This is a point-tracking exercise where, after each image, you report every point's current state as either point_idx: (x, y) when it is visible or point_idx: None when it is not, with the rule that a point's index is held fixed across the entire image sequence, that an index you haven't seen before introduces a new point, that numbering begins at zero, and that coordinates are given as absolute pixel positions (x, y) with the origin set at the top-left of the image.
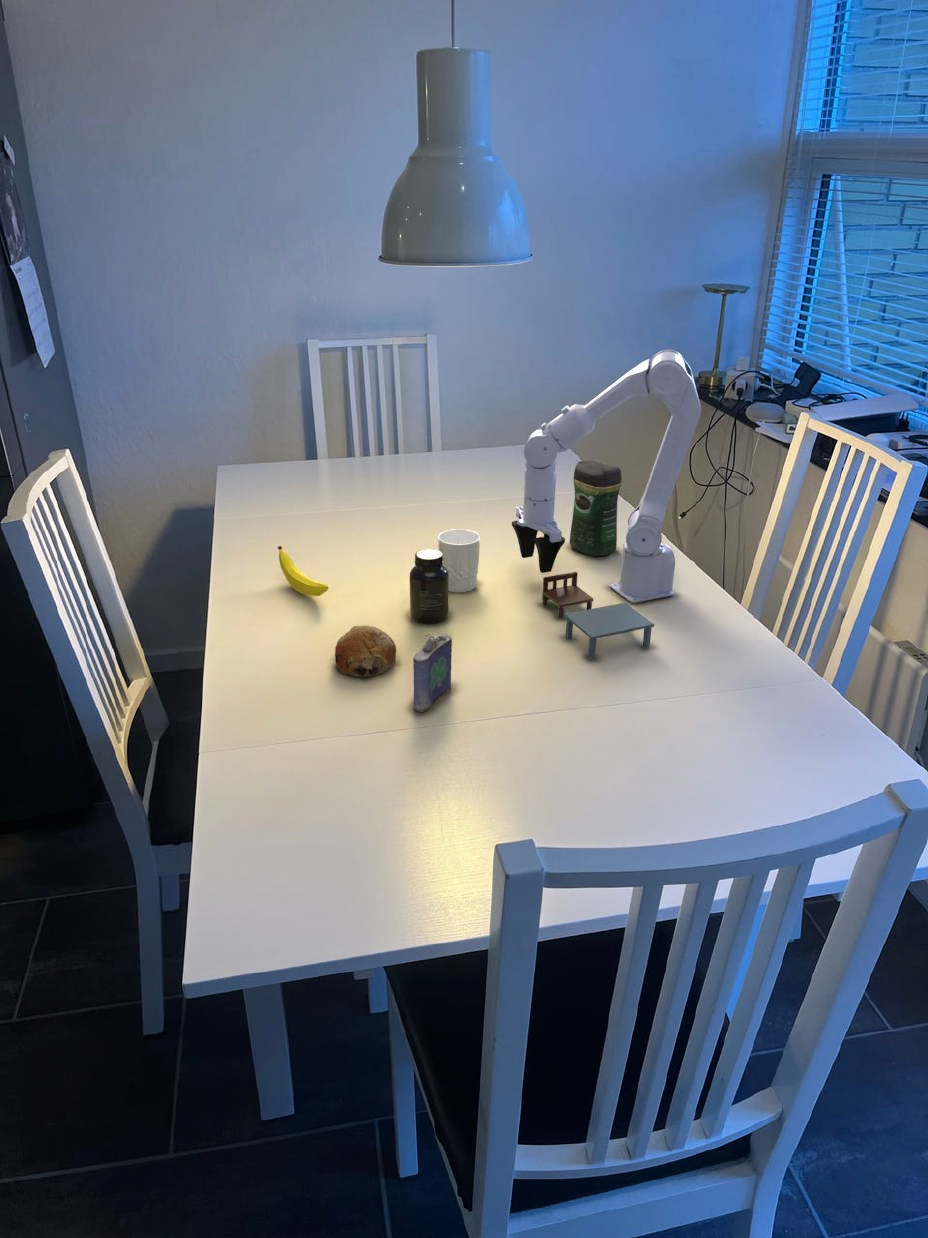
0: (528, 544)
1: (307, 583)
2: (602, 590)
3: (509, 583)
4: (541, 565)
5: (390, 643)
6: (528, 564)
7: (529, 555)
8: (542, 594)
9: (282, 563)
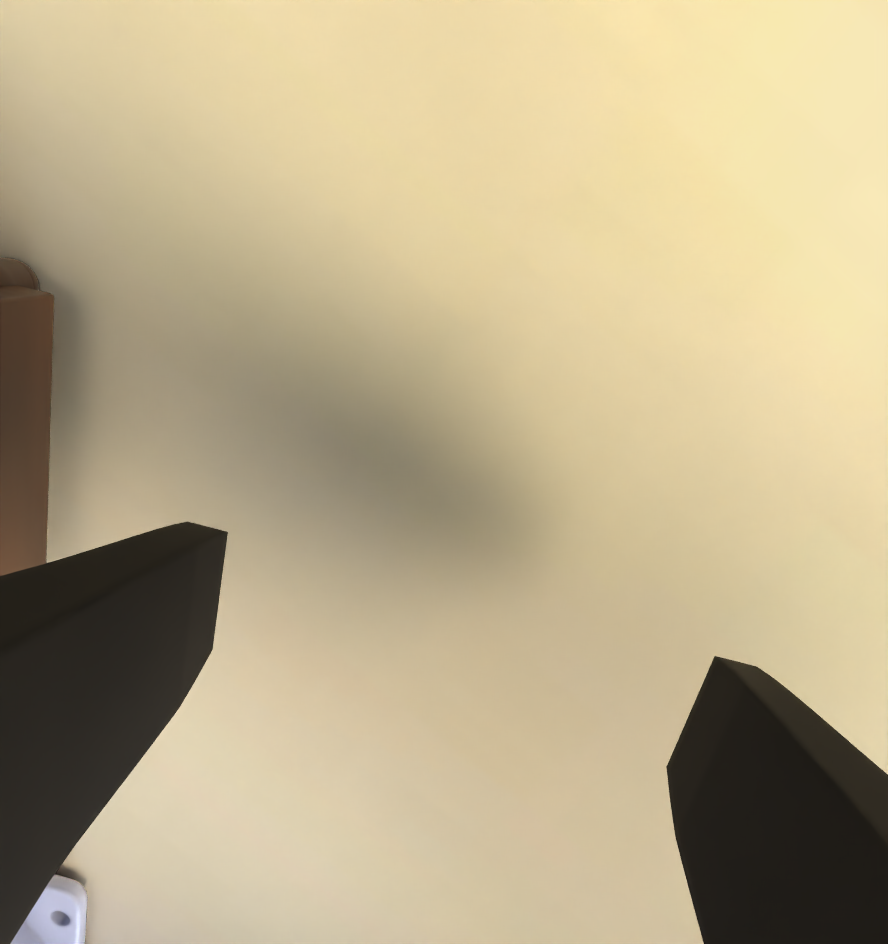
0: (757, 883)
1: None
2: None
3: (636, 336)
4: (96, 549)
5: None
6: None
7: (685, 747)
8: (7, 296)
9: None
